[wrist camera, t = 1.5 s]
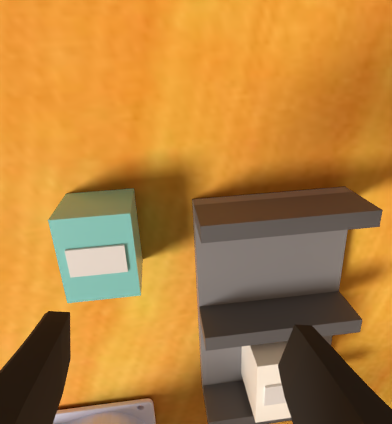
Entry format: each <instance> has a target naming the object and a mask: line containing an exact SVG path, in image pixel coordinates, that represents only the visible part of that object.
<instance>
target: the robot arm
mask: <svg viewBox="0 0 392 424" xmlns="http://www.w3.org/2000/svg"><path fill="white" fill-rule="evenodd" d="M69 363H70V312H54V311H48V312H47V313H45V315H44V316H43V317H42V319H41V320H40V322H39V323H38V324H37V326H36V327H35V328H34V330H33V331H32V332H31V334H30V335H29V336H28V338H27V339H26V340H25V341H24V343H23V344H22V345H21V346H20V348H19V349H18V350H17V351H16V353H15V354H14V355H13V356H12V357H11V359H10V360H9V361H8V362H7V363H6V364H5V366H4V367H3V368H2V369H1V370H0V424H156V420H155V412H154V405H153V401H152V400H151V399H149V398H146V399H139V400H131V401H123V402H116V403H108V404H101V405H93V406H86V407H78V408H71V409H63V410H57V409H58V406H59V403H60V400H61V397H62V394H63V390H64V385H65V381H66V377H67V372H68V367H69ZM278 369H279V374H280V379H281V384H282V388H283V393H284V397H285V400H286V403H287V407H288V410H289V413H290V416H291V419H292V422H293V424H392V409H391V408H390V407H389V406H388V405H387V404H386V403H385V402H384V401H383V400H382V399H381V398H380V397H379V396H378V395H377V394H376V393H375V392H374V391H373V390H372V389H371V388H370V387H369V386H368V385H367V384H366V383H365V382H364V381H363V380H362V379H361V378H360V377H359V376H358V375H357V374H356V373H355V372H354V371H353V370H352V368H351V367H350V366H349V365H348V364H347V363H346V362H345V361H344V360H343V359H342V358H341V356H340V355H339V354H338V353H337V352H336V351H335V350H334V349H333V348H332V347H331V346H330V344H329V343H328V342H327V341H326V340H325V339H324V338H323V337H322V336H321V335H320V334H319V332H318V331H317V330H316V329H315V328H314V327H313V326H312V325H296V324H295V325H294V327H293V330H292V332H291V335H290V337H289V339H288V342H287V344H286V347H285V349H284V352H283V354H282V357H281V359H280V362H279V364H278ZM140 405H141V406H140Z"/></svg>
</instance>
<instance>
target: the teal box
mask: <svg viewBox="0 0 392 424" xmlns="http://www.w3.org/2000/svg"><path fill="white" fill-rule="evenodd" d="M48 222H49V226H50V230H51V235H52V239H53V243H54V248H55V252H56V256H57V260H58V265H59V269H60V273H61V278H62V282H63V286H64V290H65V295H66V299H67V303H73V302H83V301H92V300H101V299H111V298H120V297H130V296H139V295H141V281H142V261H143V259H142V251H141V242H140V234H139V226H138V218H137V209H136V201H135V193H134V188H131V189H118V190H105V191H93V192H80V193H67V194H66V195H65V196H64V198H63V199H62V201H61V202H60V203H59V205H58V206H57V208H56V209H55V211H54V212H53V214H52V215H51V217H50V218H49V220H48Z"/></svg>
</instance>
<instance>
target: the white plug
mask: <svg viewBox="0 0 392 424" xmlns="http://www.w3.org/2000/svg"><path fill="white" fill-rule="evenodd" d="M287 342H288V341H283V342H274V343H266V344H258V345H250V346H242V354H241V374H242V378H243V381H244V385H245V388H246V392H247V395H248V399H249V402H250V405H251V409H252V412H253V416H254V419H255V423H257V422H264V421H271V420H278V419H285V418H291V416H290V413H289V410H288V407H287V403H286V400H285V397H284V393H283V388H282V384H281V379H280V374H279V369H278V364H279V362H280V359H281V357H282V354H283V352H284V349H285V347H286V344H287Z"/></svg>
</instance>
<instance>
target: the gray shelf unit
mask: <svg viewBox="0 0 392 424" xmlns="http://www.w3.org/2000/svg"><path fill="white" fill-rule="evenodd" d="M192 204H193V223H194V243H195V262H196V282H197V301H198V321H199V340H200V360H201V379H202V389H203V395H204V402H205V408H206V415H207V421H208V424H269V423H276V422H283V421H290V420H292V419H291V418H285V419H278V420H271V421H264V422H257V423H255V419H254V416H253V412H252V409H251V405H250V402H249V399H248V395H247V392H246V388H245V385H244V381H243V378H242V374H241V354H242V346H250V345H258V344H266V343H274V342H283V341H288V339H289V337H290V335H291V332H292V330H293V327H294V325H295V324H296V325H312V326H313V327H314V328H315V329H316V330H317V331H318V332H319V334H320V335H321V336H322V337H323V338H324V339H325V340H326V341H327V342H328V343H329V344H330V346H331V342H332V335H340V334H348V333H356V332H360V329H361V324H362V319H361V317H360V316H359V315H358V314H357V313H356V311H355V310H354V309H353V308H352V307H351V305H350V304H349V303H348V302H347V301H346V299H345V298H344V297H343V296H342V294H341V293H340V292H339V286H340V279H341V273H342V266H343V259H344V252H345V245H346V238H347V231H348V230H349V229H360V228H370V227H379V226H380V221H381V215H382V210H381V209H380V208H378V207H377V206H375V205H374V204H372V203H370V202H369V201H367V200H366V199H364V198H362V197H361V196H359V195H358V194H356V193H354V192H353V191H351V190H350V189H348V188H346V187H334V188H322V189H310V190H298V191H285V192H273V193H261V194H249V195H237V196H225V197H213V198H201V199H192Z"/></svg>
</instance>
